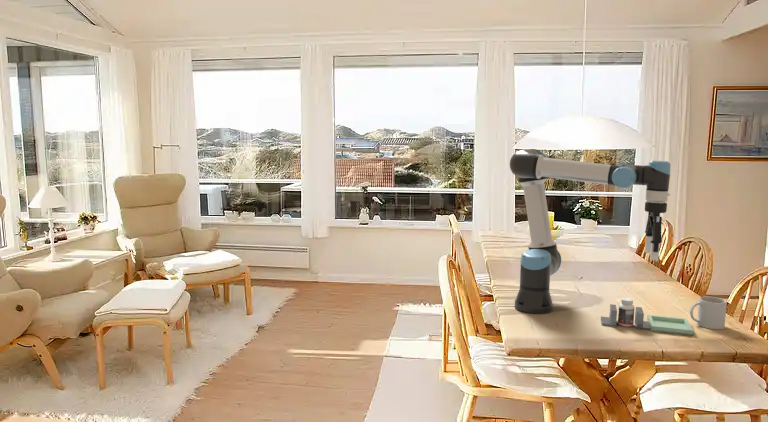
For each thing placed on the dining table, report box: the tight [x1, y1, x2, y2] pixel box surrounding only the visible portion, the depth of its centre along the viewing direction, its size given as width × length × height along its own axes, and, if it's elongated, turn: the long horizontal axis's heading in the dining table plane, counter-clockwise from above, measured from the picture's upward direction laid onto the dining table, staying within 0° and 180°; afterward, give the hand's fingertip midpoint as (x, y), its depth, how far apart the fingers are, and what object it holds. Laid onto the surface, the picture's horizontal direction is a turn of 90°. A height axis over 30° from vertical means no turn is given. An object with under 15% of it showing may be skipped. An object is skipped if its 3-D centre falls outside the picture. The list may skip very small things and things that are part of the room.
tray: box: [646, 314, 694, 337], centre depth 205 cm, size 13×13×2 cm
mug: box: [689, 295, 728, 330], centre depth 208 cm, size 11×10×10 cm
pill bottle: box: [617, 297, 636, 327], centre depth 208 cm, size 5×5×10 cm
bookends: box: [600, 303, 652, 332], centre depth 208 cm, size 17×8×6 cm, turn 71°
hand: (651, 256), depth 214 cm, fingers open, 13 cm apart
